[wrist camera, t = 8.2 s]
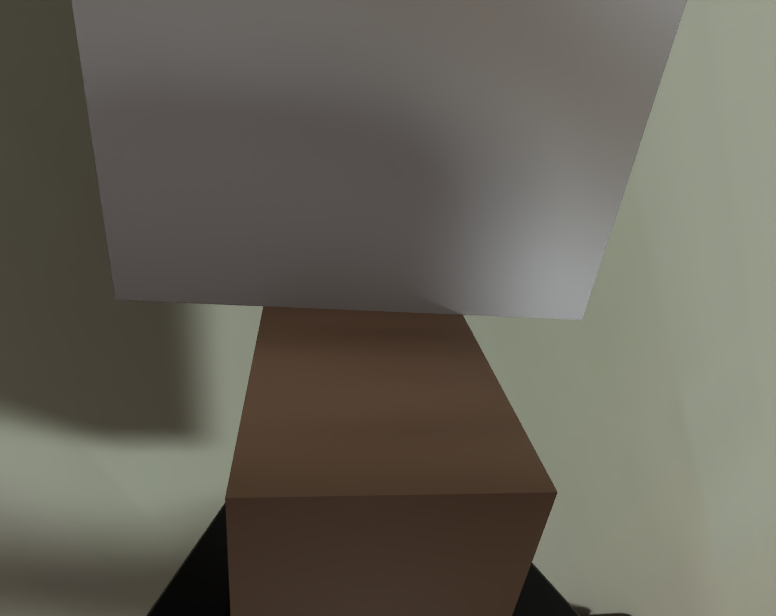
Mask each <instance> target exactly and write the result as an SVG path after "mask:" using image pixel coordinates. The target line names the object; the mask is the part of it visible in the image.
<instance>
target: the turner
mask: <svg viewBox="0 0 776 616" xmlns="http://www.w3.org/2000/svg"><path fill="white" fill-rule="evenodd" d="M71 1H72V8H73V15H74V22H75V28H76V35H77V42H78V49H79V56H80V63H81V69H82V76H83V83H84V90H85V97H86V104H87V111H88V117H89V124H90V131H91V138H92V145H93V152H94V158H95V165H96V172H97V179H98V186H99V193H100V199H101V206H102V213H103V220H104V227H105V234H106V241H107V247H108V254H109V261H110V268H111V275H112V282H113V288H114V295H115V300H129V301H152V302H176V303H199V304H222V305H246V306H263V311H262V316H261V321H260V326H259V331H258V336H257V341H256V346H255V351H254V356H253V361H252V366H251V371H250V376H249V381H248V386H247V391H246V396H245V401H244V406H243V411H242V416H241V422H240V427H239V432H238V437H237V442H236V447H235V452H234V457H233V462H232V467H231V472H230V477H229V482H228V487H227V492H226V497H225V503H226V525H227V548H228V570H229V593H230V615H231V616H512V614H513V612H514V609H515V606H516V604H517V601H518V598H519V595H520V593H521V590H522V587H523V585H524V582H525V579H526V576H527V574H528V571H529V568H530V566H531V563H532V560H533V557H534V555H535V552H536V549H537V547H538V544H539V541H540V538H541V536H542V533H543V530H544V528H545V525H546V522H547V519H548V517H549V514H550V511H551V508H552V506H553V503H554V500H555V498H556V495H557V490H556V489H555V487H554V485H553V483H552V481H551V479H550V477H549V475H548V474H547V472H546V470H545V468H544V466H543V464H542V462H541V461H540V459H539V457H538V455H537V453H536V451H535V449H534V447H533V446H532V444H531V442H530V440H529V438H528V436H527V434H526V432H525V431H524V429H523V427H522V425H521V423H520V421H519V419H518V417H517V416H516V414H515V412H514V410H513V408H512V406H511V404H510V403H509V401H508V399H507V397H506V395H505V393H504V391H503V389H502V388H501V386H500V384H499V382H498V380H497V378H496V376H495V374H494V373H493V371H492V369H491V367H490V365H489V363H488V361H487V359H486V358H485V356H484V354H483V352H482V350H481V348H480V346H479V345H478V343H477V341H476V339H475V337H474V335H473V333H472V331H471V330H470V328H469V326H468V324H467V322H466V320H465V318H464V316H463V315H480V316H503V317H527V318H550V319H573V320H582V319H583V316H584V313H585V310H586V306H587V303H588V300H589V297H590V294H591V291H592V288H593V285H594V282H595V279H596V276H597V273H598V270H599V267H600V264H601V261H602V258H603V255H604V252H605V249H606V246H607V242H608V239H609V236H610V233H611V230H612V227H613V224H614V221H615V218H616V215H617V212H618V209H619V206H620V203H621V200H622V197H623V194H624V191H625V188H626V185H627V182H628V179H629V175H630V172H631V169H632V166H633V163H634V160H635V157H636V154H637V151H638V148H639V145H640V142H641V139H642V136H643V133H644V130H645V127H646V124H647V121H648V118H649V115H650V112H651V108H652V105H653V102H654V99H655V96H656V93H657V90H658V87H659V84H660V81H661V78H662V75H663V72H664V69H665V66H666V63H667V60H668V57H669V54H670V51H671V48H672V44H673V41H674V38H675V35H676V32H677V29H678V26H679V23H680V20H681V17H682V14H683V11H684V8H685V5H686V2H687V0H71Z"/></svg>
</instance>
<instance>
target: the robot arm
mask: <svg viewBox="0 0 776 616" xmlns="http://www.w3.org/2000/svg"><path fill="white" fill-rule="evenodd" d="M146 616H231V615H230V593H229V570H228V548H227V525H226V503H225V504H224V505H223V506H222V508H221V509H220V511H219V512H218V514H217V515H216V517H215V518H214V519H213V521H212V522H211V524H210V525H209V527H208V528H207V529H206V531H205V532H204V534H203V535H202V537H201V538H200V539H199V541H198V542H197V544H196V545H195V547H194V548H193V549H192V551H191V552H190V554H189V555H188V557H187V558H186V559H185V561H184V562H183V564H182V565H181V567H180V568H179V569H178V571H177V572H176V574H175V575H174V577H173V578H172V580H171V581H170V582H169V584H168V585H167V587H166V588H165V590H164V591H163V592H162V594H161V595H160V597H159V598H158V600H157V601H156V602H155V604H154V605H153V607H152V608H151V610H150V611H149V612H148V614H147V615H146ZM512 616H580V615H579V614H578V613H577V612H576V611H575V609H574V608H573V607H572V606H571V605H570V604H569V603H568V602H567V601H566V600H565V598H564V597H563V596H562V595H561V594H560V593H559V592H558V591H557V590H556V589H555V587H554V586H553V585H552V584H551V583H550V582H549V581H548V580H547V579H546V577H545V576H544V575H543V574H542V573H541V572H540V571H539V570H538V569H537V568H536V566H535V565H534V564H533V563H531V566H530V568H529V571H528V574H527V576H526V579H525V582H524V585H523V587H522V590H521V593H520V595H519V598H518V601H517V604H516V606H515V609H514V612H513V614H512Z"/></svg>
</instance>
